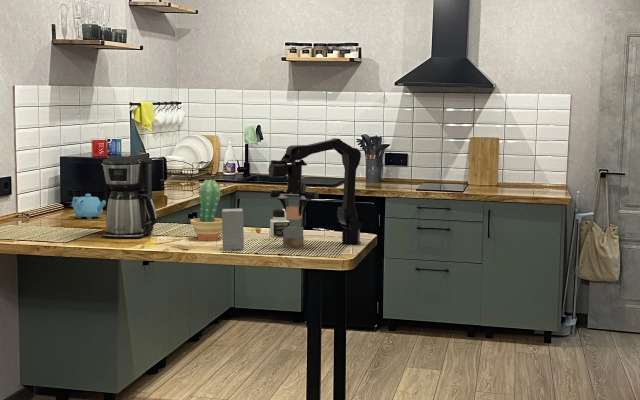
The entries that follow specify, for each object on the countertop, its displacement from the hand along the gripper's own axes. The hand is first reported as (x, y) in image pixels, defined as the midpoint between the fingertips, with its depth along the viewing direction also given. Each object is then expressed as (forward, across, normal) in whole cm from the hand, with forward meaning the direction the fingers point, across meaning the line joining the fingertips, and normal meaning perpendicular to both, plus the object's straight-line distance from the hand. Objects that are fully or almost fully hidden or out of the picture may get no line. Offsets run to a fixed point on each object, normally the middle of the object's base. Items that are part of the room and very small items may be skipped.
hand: (294, 215), depth 349 cm
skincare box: (+13, +20, +15) cm, 28 cm away
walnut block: (+13, 0, 0) cm, 13 cm away
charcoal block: (+9, 0, 0) cm, 9 cm away
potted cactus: (+13, +40, -4) cm, 42 cm away
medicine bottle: (+13, +15, -23) cm, 30 cm away
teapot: (+13, +122, -40) cm, 129 cm away
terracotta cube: (+1, 0, 0) cm, 1 cm away
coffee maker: (+13, +74, -3) cm, 75 cm away
